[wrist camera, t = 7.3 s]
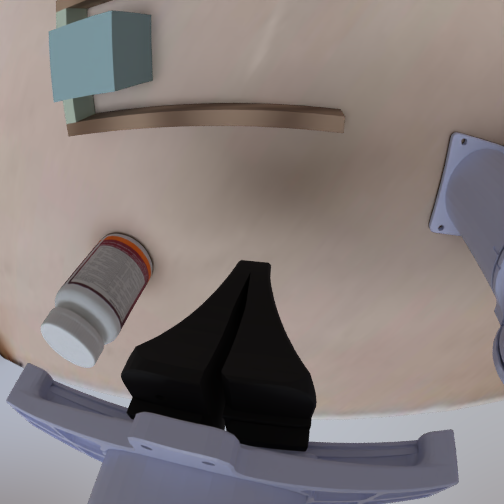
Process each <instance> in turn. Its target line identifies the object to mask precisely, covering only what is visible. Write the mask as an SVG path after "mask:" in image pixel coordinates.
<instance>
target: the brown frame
mask: <svg viewBox="0 0 504 504" xmlns="http://www.w3.org/2000/svg"><path fill="white" fill-rule="evenodd" d="M108 1H111V0H57V1H56V12H58V11H61V10H63V9H65V8H85V9H87V8H90V7H93V6H96V5H99V4H102V3H105V2H108ZM344 123H345V116H344V114H343V113H342V111H341V109H332V108H322V107H311V106H298V105H282V104H257V103H209V104H184V105H168V106H155V107H144V108H135V109H126V110H118V111H110V112H103V113H97V114H93V115H91V116H89V117H87V118H84V119H82V120H80V121H78V122H75V123H69V124H67V130H68V135H69V136H75V135H82V134H90V133H98V132H107V131H117V130H128V129H141V128H156V127H177V126H257V127H278V128H294V129H307V130H318V131H328V132H337V133H344Z"/></svg>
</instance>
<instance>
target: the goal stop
mask: <svg viewBox="0 0 504 504" xmlns="http://www.w3.org/2000/svg"><path fill="white" fill-rule="evenodd" d="M85 18H87V9H85V8H65V9H63V10H61V11H58V12H56V28H59V27H62V26H65V25H68V24H70V23H73V22H76V21H79V20H82V19H85ZM63 105H64V112H65V118H66V124H69V123H75V122H78V121H80V120H82V119H84V118H87V117H89V116H91V115H93V114H95V109H94V101H93V95H88V96H83V97H77V98H72V99H67V100H63Z"/></svg>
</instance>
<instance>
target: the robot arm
mask: <svg viewBox="0 0 504 504" xmlns="http://www.w3.org/2000/svg"><path fill="white" fill-rule="evenodd" d="M463 138H465V142H464V143H463V144H462V143H461V140H462V139H463ZM440 225H442V227H441V228H438V227H439V226H440ZM429 228H430V230H431V231H432V232H435V233H443V234H450V235H457V236H462V238H463V240H464V241H465V243H466V244H467V246H468V248H469V249H470V251H471V253H472V254H473V256H474V258H475V260H476V261H477V263H478V265H479V267H480V268H481V270H482V272H483V274H484V276H485V277H486V279H487V281H488V283H489V285H490V287H491V289H492V291H493V293H494V295H495V297H496V301H497V304H496V308H495V310H494V312H495V314H496V316H497V318H498V321H499V323H500V325H501V327H500V328H499V330H498V332H497V334H496V336H495V339H494V343H493V360H494V365H495V368H496V371H497V373H498V375H499V377H500V379H501V381H502V382H503V384H504V146H502V145H499V144H496V143H493V142H490V141H486V140H483V139H480V138H476V137H473V136H470V135H466V134H462V133H459V132H455V133H453V134H452V135H451V138H450V144H449V148H448V153H447V158H446V162H445V167H444V171H443V175H442V179H441V183H440V187H439V191H438V195H437V198H436V202H435V206H434V209H433V213H432V216H431V219H430V223H429ZM270 273H271V265H270V264H269V263H265V262H255V261H244V260H241V261H239V262H238V264H237V265H236V267H235V268H234V269H233V271H232V272H231V273H230V275H229V276H228V277H227V278H226V280H225V281H224V282H223V283H222V284H221V285H220V287H219V288H218V289H217V290H216V291H215V292H214V293H213V294H212V295H211V296H210V297H209V298H208V299H207V300H206V301H205V302H204V303H203V304H202V305H201V306H200V307H199V308H198V309H196V310H195V311H194V312H193V313H192V314H190V315H189V316H188V317H187V318H185V319H184V320H183V321H181V322H180V323H178V324H177V325H176V326H174V327H172V328H171V329H169V330H168V331H166V332H164V333H163V334H161V335H159V336H157V337H155V338H154V339H151V340H149V341H147V342H145V343H143V344H141V345H138V346H136V347H135V349H134V351H133V352H132V353H131V355H130V357H129V359H128V361H127V363H126V365H125V367H124V369H123V371H122V373H121V378H122V380H123V382H124V384H125V386H126V387H127V389H128V391H129V392H130V394H131V395H132V397H133V398H132V400H131V403H130V405H129V407H128V408H126V407H122V406H119V405H116V404H113V403H110V402H107V401H104V400H102V399H99V398H96V397H93V396H91V395H88V394H85V393H83V392H80V391H78V390H75V389H73V388H70V387H68V386H65V385H63V384H61V383H58V382H56V381H54V380H53V379H52V377H51V376H50V375H49V374H48V373H47V372H46V371H45V370H43V369H41V368H39V367H37V366H35V365H33V364H30V363H28V364H27V365H26V367H25V369H24V370H23V372H22V374H21V375H20V377H19V379H18V380H17V382H16V384H15V386H14V388H13V389H12V391H11V393H10V394H9V396H8V398H7V400H6V401H7V403H8V404H9V405H10V406H11V407H13V409H15V410H16V411H17V412H18V413H19V414H20V415H21V416H23V417H24V418H25V419H26V420H27V421H28V422H29V423H31V424H32V425H33V426H35V427H37V428H38V429H40V430H42V431H43V432H45V433H47V434H49V435H51V436H52V437H54V438H56V439H58V440H60V441H61V442H63V443H65V444H67V445H69V446H71V447H72V448H75V449H77V450H78V451H80V452H82V453H84V454H86V455H88V456H90V457H93V458H94V459H97V460H99V461H101V462H103V463H102V466H101V468H100V471H99V474H98V476H97V479H96V482H95V485H94V487H93V490H92V493H91V496H90V498H89V501H88V504H386V503H393V502H400V501H407V500H413V499H419V498H425V497H429V496H432V495H434V494H436V493H439V492H441V491H443V490H445V489H447V488H450V487H452V486H454V485H456V484H457V483H458V482H459V480H458V467H457V456H456V448H455V441H454V440H455V439H454V432H453V430H451V429H450V430H443V431H434V432H429V433H426V434H423V435H422V436H421V437H420V438H419V439H418V440H414V441H401V442H382V443H326V442H325V443H324V442H309V430H310V427H311V418H312V415H313V413H314V410H315V408H316V393H315V389H314V385H313V381H312V378H311V375H310V373H309V371H308V370H307V368H306V367H305V366H304V364H303V363H302V361H301V360H300V358H299V356H298V355H297V353H296V351H295V350H294V348H293V346H292V344H291V342H290V340H289V338H288V336H287V334H286V332H285V330H284V327H283V325H282V322H281V320H280V317H279V314H278V311H277V308H276V305H275V301H274V297H273V292H272V287H271V280H270ZM225 426H226V430H227V431H225V430H224V429H225Z"/></svg>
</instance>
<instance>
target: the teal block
mask: <svg viewBox="0 0 504 504" xmlns="http://www.w3.org/2000/svg"><path fill="white" fill-rule="evenodd" d="M49 51H50V67H51V79H52V89H53V98H54V102H58V101H63V100H67V99H72V98H77V97H83V96H88V95H94V94H100V93H107V92H114V91H118V90H121V89H124V88H127V87H131V86H134V85H138V84H141V83H145V82H149V81H153V76H152V49H151V15H147V14H140V13H131V12H122V11H108V12H105V13H101V14H98V15H94V16H91V17H88V18H85V19H82V20H79V21H76V22H73V23H70V24H68V25H65V26H62V27H59V28H57V29H54V30H52V31H49Z"/></svg>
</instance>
